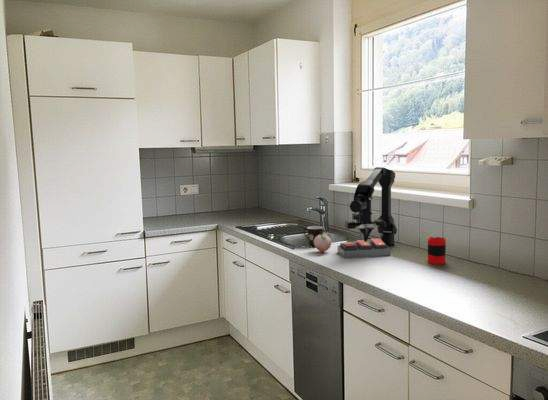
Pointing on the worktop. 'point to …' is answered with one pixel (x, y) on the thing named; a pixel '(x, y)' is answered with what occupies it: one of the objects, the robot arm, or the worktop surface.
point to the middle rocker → (363, 243)
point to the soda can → (436, 249)
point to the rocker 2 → (377, 241)
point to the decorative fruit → (322, 242)
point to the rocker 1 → (348, 244)
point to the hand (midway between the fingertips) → (365, 241)
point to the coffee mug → (313, 233)
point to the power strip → (363, 250)
